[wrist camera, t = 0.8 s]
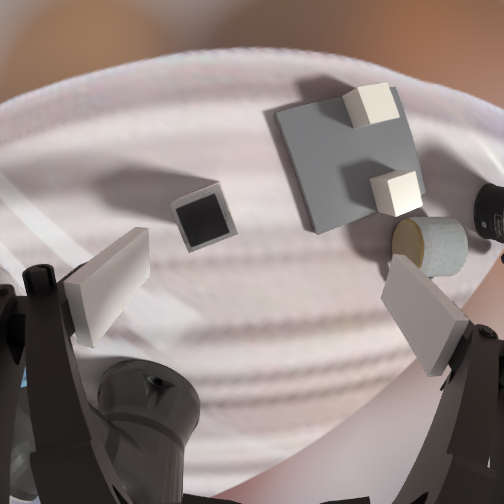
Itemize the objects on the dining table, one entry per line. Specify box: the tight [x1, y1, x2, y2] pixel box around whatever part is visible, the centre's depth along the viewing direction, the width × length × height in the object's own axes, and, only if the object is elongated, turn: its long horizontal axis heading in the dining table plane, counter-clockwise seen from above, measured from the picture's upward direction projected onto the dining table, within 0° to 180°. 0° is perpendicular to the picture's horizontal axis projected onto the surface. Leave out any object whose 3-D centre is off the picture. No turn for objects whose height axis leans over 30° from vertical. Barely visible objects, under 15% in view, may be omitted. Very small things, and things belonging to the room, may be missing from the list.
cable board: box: [274, 83, 426, 235], centre depth 29 cm, size 16×14×5 cm
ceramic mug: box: [392, 217, 468, 280], centre depth 32 cm, size 11×8×8 cm
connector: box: [169, 182, 238, 253], centre depth 26 cm, size 4×4×11 cm
